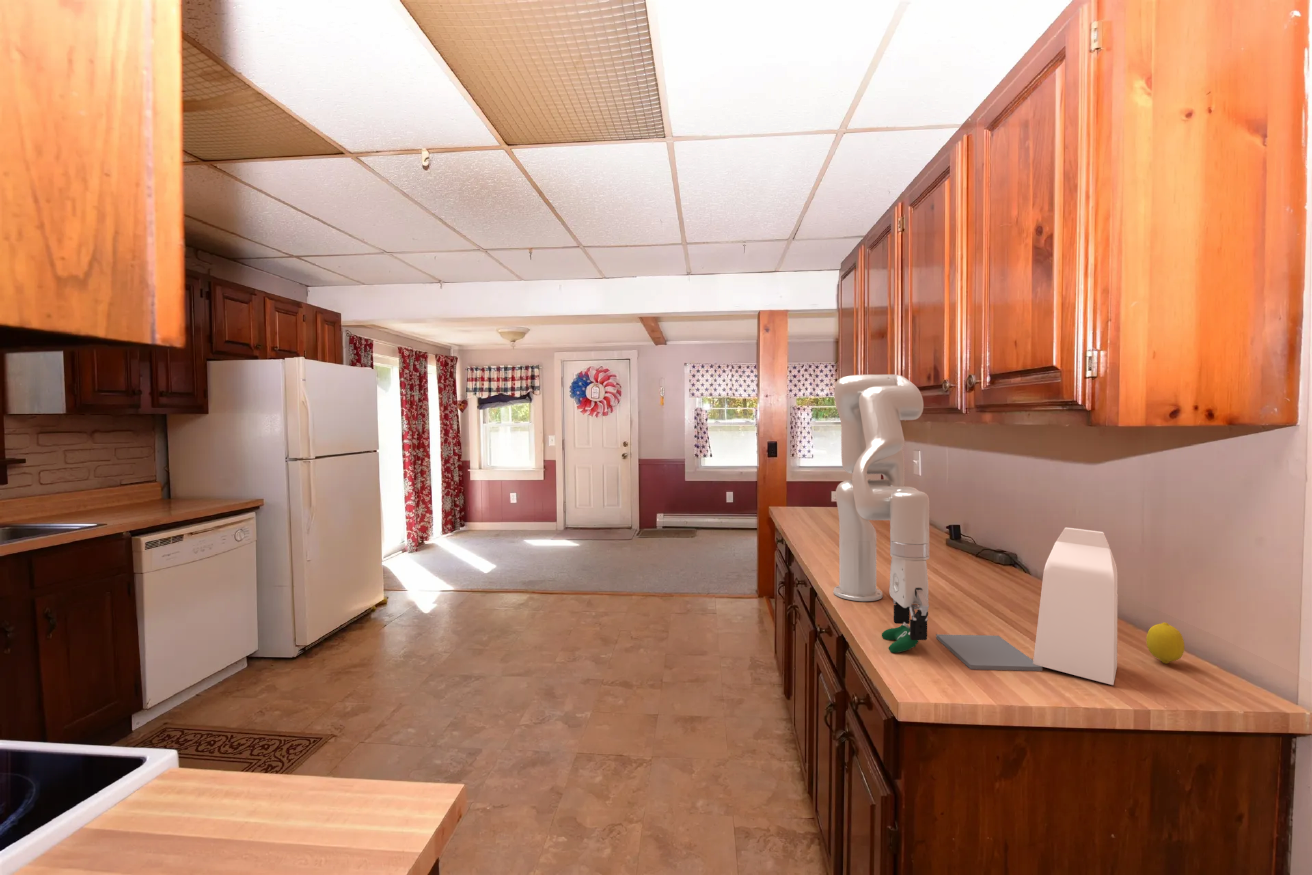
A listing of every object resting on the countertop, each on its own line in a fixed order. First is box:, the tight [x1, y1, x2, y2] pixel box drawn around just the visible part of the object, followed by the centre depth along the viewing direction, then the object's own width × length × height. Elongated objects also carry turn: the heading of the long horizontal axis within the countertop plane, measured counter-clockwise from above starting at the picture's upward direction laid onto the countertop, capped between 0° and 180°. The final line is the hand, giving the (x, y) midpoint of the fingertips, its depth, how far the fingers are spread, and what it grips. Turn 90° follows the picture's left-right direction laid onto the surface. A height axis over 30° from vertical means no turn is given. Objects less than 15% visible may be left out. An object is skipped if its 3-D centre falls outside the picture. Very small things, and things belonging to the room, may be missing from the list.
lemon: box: [1145, 621, 1185, 665], centre depth 111 cm, size 6×6×8 cm
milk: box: [1032, 527, 1119, 686], centre depth 109 cm, size 12×12×26 cm
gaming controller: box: [881, 622, 920, 654], centre depth 121 cm, size 9×4×6 cm
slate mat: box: [935, 633, 1043, 672], centre depth 117 cm, size 16×13×1 cm
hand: (909, 631), depth 120 cm, fingers open, 9 cm apart
